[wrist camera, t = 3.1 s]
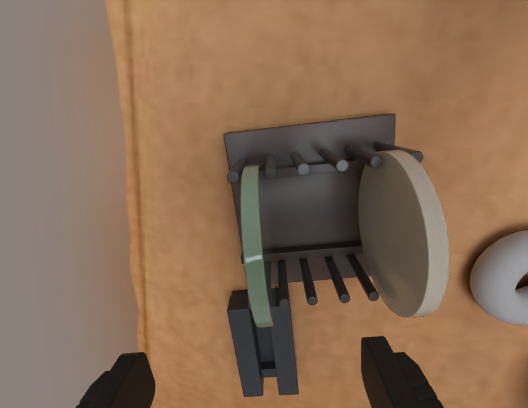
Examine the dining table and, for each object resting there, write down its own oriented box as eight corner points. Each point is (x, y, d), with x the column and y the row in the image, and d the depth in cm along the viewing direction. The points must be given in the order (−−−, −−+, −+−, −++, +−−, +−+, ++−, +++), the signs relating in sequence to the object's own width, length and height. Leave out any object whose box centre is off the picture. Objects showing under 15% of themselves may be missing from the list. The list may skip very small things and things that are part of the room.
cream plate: (357, 143, 22) (438, 168, 11) (370, 141, 21) (463, 165, 11) (357, 259, 25) (419, 362, 15) (368, 258, 25) (438, 361, 14)
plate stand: (231, 290, 28) (226, 310, 25) (288, 286, 28) (290, 305, 25) (246, 372, 32) (243, 397, 29) (296, 369, 32) (299, 394, 29)
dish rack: (226, 132, 23) (205, 139, 16) (388, 113, 22) (443, 112, 15) (248, 277, 28) (240, 333, 21) (382, 266, 27) (423, 320, 20)
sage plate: (250, 155, 22) (231, 189, 12) (261, 154, 22) (253, 187, 12) (264, 267, 26) (260, 371, 15) (274, 266, 25) (277, 370, 15)
